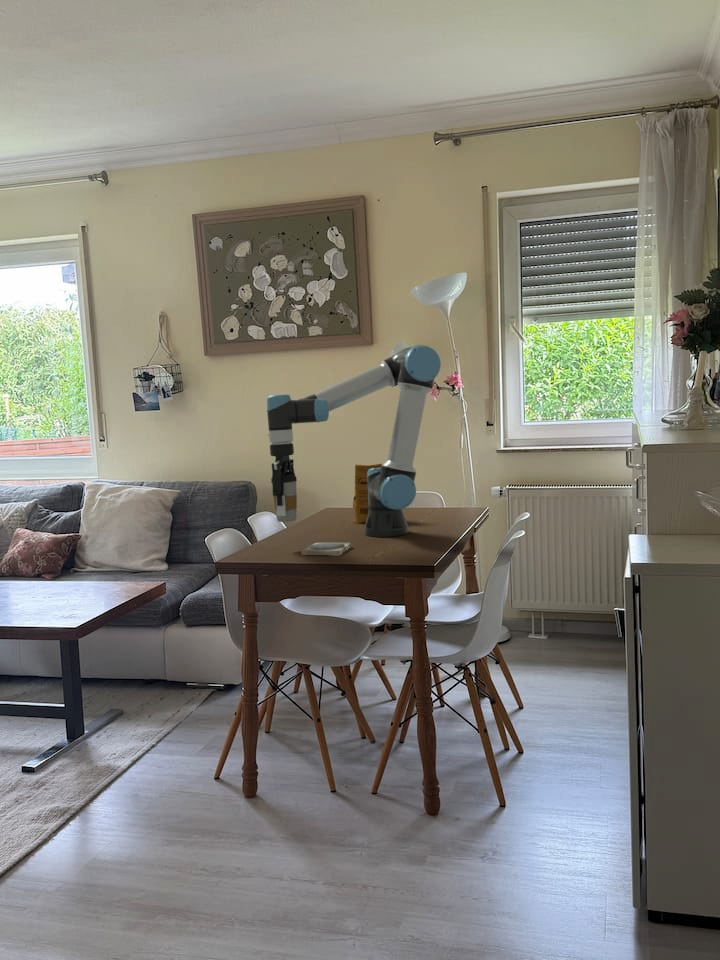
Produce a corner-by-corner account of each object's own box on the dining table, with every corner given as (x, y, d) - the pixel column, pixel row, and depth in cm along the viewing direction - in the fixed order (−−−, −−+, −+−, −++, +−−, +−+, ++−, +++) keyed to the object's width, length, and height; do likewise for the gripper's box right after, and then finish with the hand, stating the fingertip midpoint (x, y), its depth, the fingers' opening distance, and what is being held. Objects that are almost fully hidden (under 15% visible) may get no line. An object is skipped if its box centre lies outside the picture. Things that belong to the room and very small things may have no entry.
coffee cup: (269, 522, 275) (265, 476, 274) (281, 518, 283) (277, 473, 281) (292, 522, 272) (289, 475, 270) (303, 518, 280) (300, 472, 278)
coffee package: (354, 520, 333) (351, 463, 330) (386, 519, 332) (384, 462, 330) (352, 524, 323) (350, 465, 320) (385, 523, 322) (383, 464, 320)
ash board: (316, 547, 279) (316, 541, 279) (351, 547, 275) (351, 542, 275) (301, 555, 265) (301, 550, 265) (338, 555, 262) (338, 550, 262)
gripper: (281, 441, 286) (286, 509, 288) (258, 446, 266) (263, 519, 269) (303, 440, 283) (307, 508, 286) (280, 445, 264) (286, 518, 266)
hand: (286, 513), depth 277 cm, fingers closed on coffee cup, 7 cm apart
